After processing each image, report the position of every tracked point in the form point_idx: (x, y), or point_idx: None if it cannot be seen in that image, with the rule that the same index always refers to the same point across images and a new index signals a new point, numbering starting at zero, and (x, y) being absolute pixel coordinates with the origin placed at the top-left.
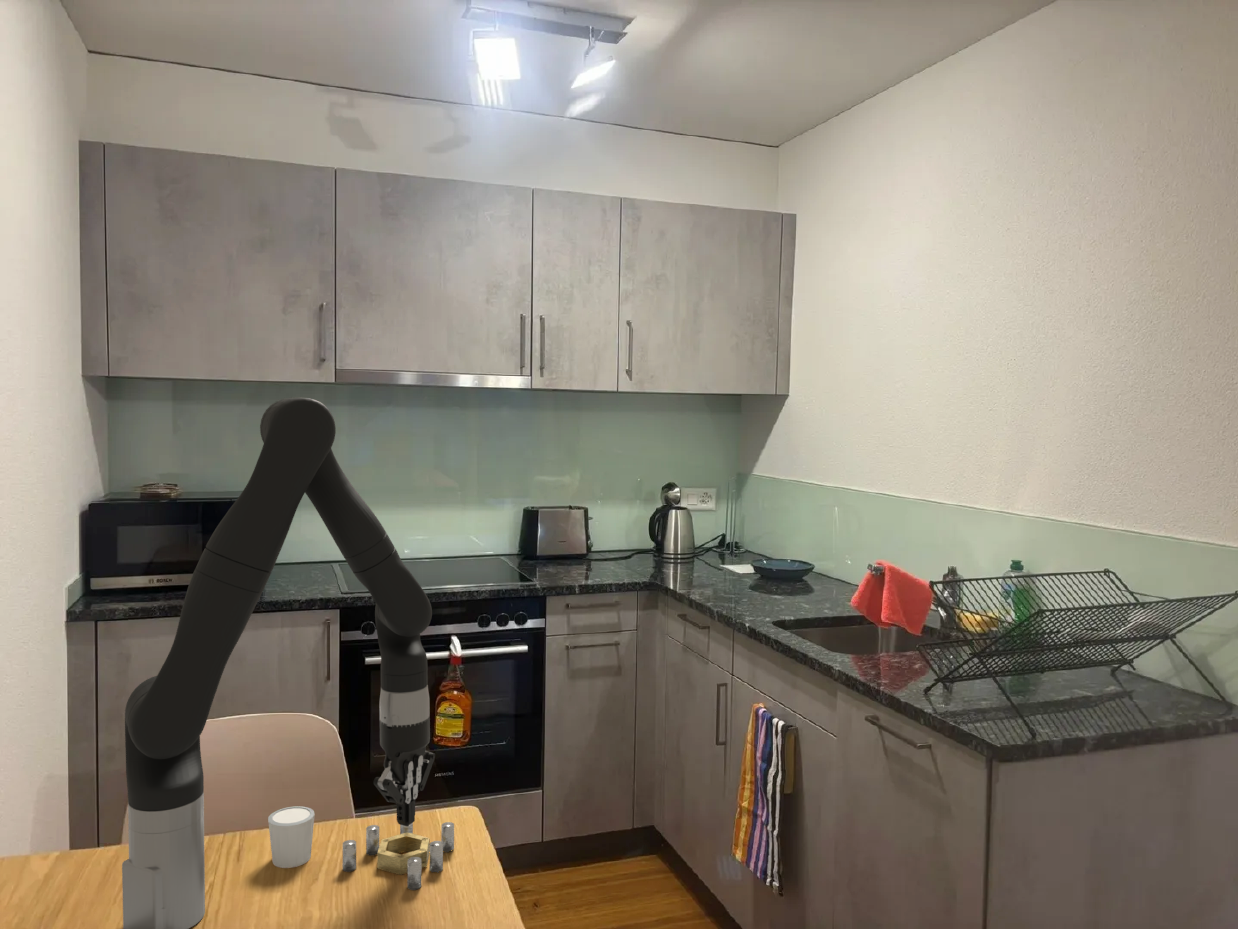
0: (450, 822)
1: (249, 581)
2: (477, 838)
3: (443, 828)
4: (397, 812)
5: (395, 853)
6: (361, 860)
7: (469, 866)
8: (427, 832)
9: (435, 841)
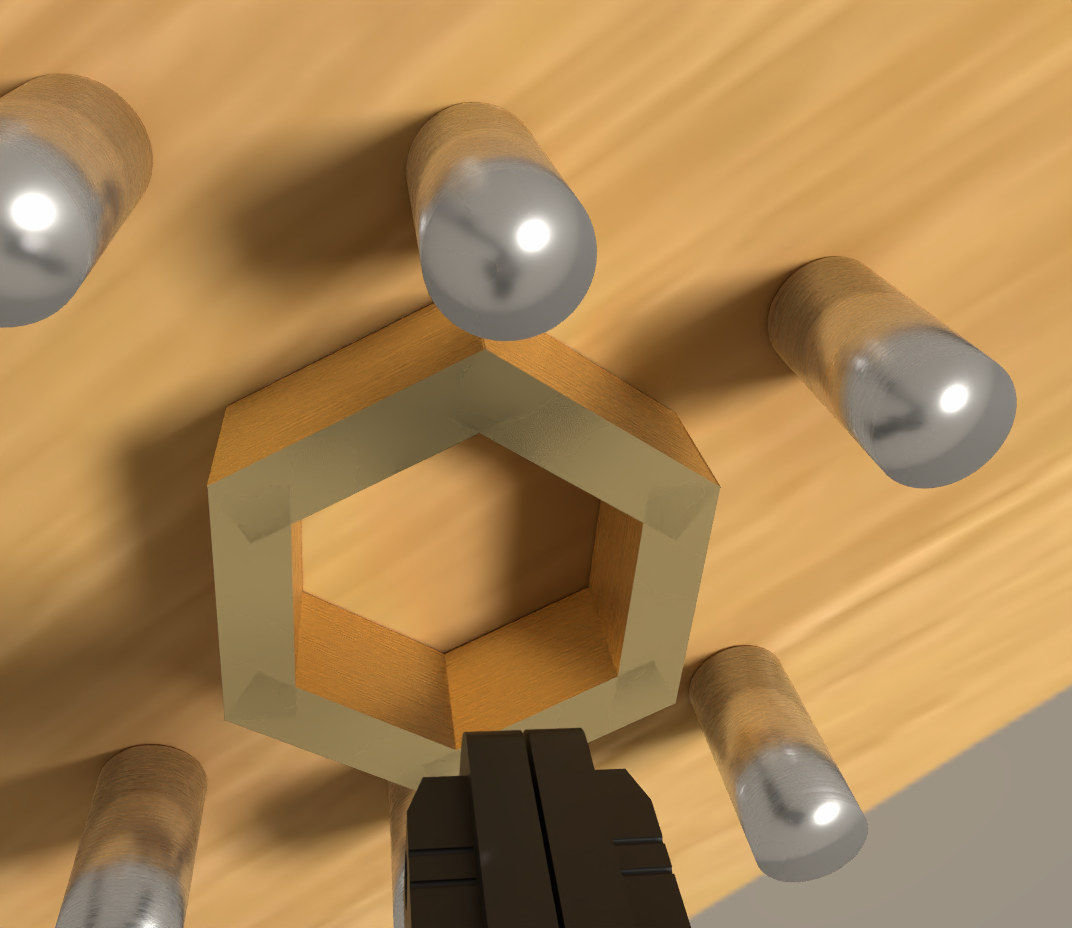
0: (861, 838)
1: None
2: (941, 751)
3: (754, 834)
4: (408, 914)
5: (285, 636)
6: (289, 158)
7: None
8: None
9: None
